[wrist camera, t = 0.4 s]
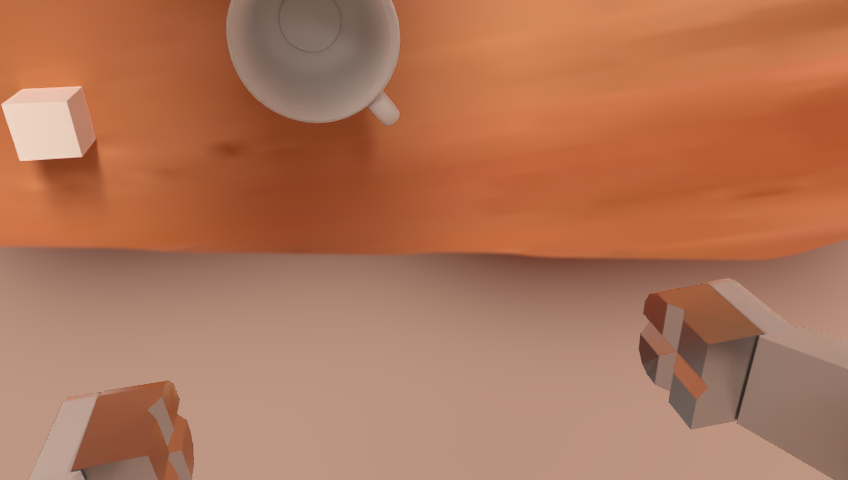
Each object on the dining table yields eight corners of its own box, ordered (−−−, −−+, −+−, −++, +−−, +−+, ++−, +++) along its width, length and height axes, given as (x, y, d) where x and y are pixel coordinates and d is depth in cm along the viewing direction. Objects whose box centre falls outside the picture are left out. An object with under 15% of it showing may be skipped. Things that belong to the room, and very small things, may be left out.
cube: (22, 88, 50) (1, 104, 46) (82, 85, 50) (66, 101, 47) (39, 141, 52) (19, 161, 48) (96, 138, 53) (82, 157, 49)
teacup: (333, 138, 57) (343, 180, 48) (202, 13, 50) (187, 35, 41) (430, 47, 55) (458, 74, 46) (308, -98, 48) (315, -98, 39)
